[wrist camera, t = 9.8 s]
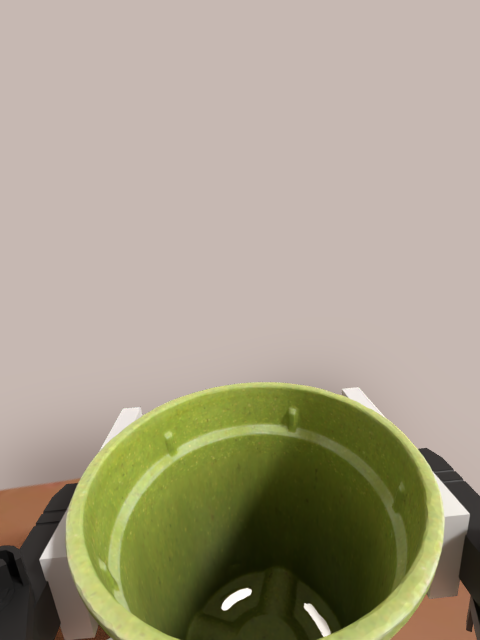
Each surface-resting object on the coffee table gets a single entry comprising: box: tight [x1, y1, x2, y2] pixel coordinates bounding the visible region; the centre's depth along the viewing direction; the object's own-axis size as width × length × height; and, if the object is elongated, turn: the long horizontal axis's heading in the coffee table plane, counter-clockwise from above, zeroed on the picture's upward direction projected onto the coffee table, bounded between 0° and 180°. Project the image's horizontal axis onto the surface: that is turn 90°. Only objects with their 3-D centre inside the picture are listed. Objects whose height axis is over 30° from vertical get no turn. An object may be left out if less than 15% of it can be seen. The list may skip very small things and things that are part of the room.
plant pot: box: [65, 382, 445, 640], centre depth 10 cm, size 9×9×9 cm
